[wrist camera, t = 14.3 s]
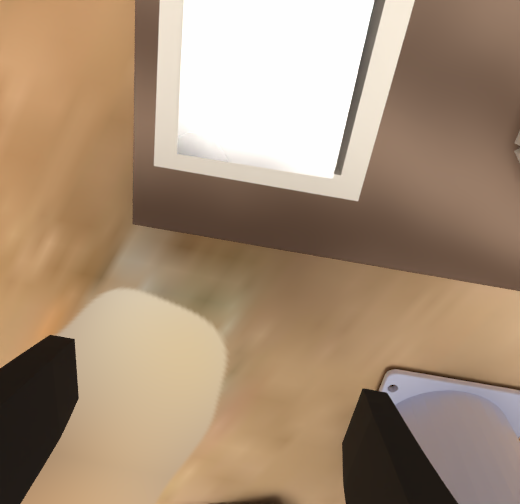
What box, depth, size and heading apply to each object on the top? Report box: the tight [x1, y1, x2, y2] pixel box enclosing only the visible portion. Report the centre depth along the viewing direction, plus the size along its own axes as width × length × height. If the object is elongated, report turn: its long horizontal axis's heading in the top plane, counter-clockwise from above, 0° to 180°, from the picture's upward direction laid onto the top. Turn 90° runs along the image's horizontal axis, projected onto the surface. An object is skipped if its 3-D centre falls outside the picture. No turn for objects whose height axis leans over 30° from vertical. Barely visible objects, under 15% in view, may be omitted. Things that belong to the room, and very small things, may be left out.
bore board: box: [133, 0, 520, 291], centre depth 14 cm, size 14×22×3 cm, turn 81°
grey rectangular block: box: [177, 0, 374, 179], centre depth 12 cm, size 4×4×6 cm
